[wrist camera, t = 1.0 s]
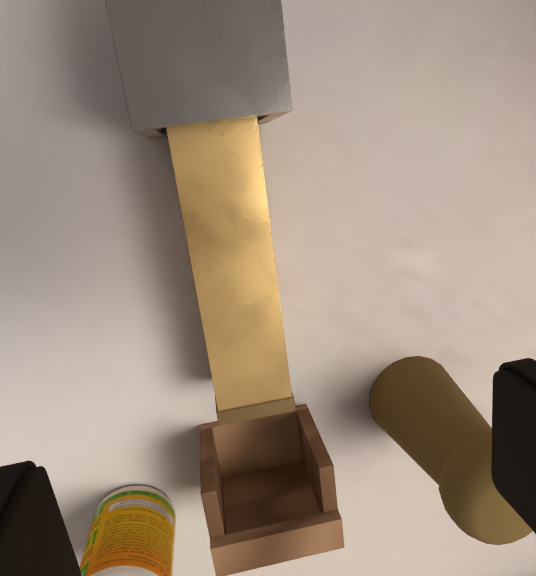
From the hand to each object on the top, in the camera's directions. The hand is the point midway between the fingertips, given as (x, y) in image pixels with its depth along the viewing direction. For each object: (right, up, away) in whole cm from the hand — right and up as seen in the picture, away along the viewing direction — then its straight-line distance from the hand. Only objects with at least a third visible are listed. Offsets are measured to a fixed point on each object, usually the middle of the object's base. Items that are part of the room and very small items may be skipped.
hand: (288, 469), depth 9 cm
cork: (+9, -4, +22) cm, 25 cm away
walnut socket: (-1, -7, +21) cm, 23 cm away
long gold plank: (-3, +10, +16) cm, 19 cm away
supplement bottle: (-9, -12, +22) cm, 26 cm away
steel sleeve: (-4, +15, +14) cm, 21 cm away
